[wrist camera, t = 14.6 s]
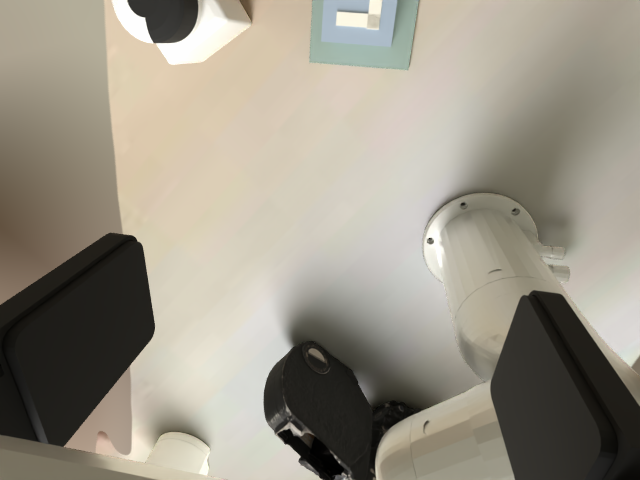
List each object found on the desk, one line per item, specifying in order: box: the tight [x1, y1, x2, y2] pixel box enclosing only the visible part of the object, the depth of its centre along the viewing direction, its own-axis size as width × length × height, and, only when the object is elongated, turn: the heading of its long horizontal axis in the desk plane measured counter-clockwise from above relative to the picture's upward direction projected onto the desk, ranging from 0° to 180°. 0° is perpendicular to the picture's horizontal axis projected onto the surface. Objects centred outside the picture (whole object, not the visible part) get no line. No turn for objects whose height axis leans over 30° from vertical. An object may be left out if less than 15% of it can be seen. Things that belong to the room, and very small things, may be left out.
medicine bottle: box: [112, 0, 252, 65], centre depth 35 cm, size 7×7×12 cm
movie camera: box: [264, 342, 422, 480], centre depth 52 cm, size 31×18×18 cm, turn 49°
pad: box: [309, 0, 419, 70], centre depth 38 cm, size 10×10×1 cm
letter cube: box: [321, 0, 397, 47], centre depth 35 cm, size 6×6×6 cm
